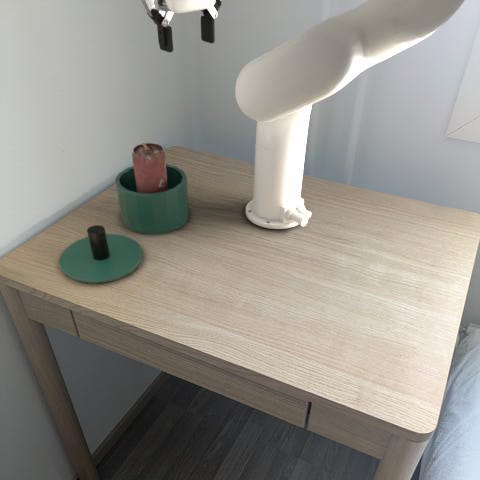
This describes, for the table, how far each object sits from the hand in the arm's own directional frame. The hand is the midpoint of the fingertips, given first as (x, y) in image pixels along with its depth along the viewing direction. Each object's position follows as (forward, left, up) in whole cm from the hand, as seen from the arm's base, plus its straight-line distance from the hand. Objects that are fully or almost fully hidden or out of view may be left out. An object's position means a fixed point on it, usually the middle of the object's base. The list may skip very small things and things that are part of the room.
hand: (187, 46), depth 90 cm
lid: (-10, +29, -29) cm, 42 cm away
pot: (-3, +13, -29) cm, 32 cm away
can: (-3, +13, -29) cm, 32 cm away
